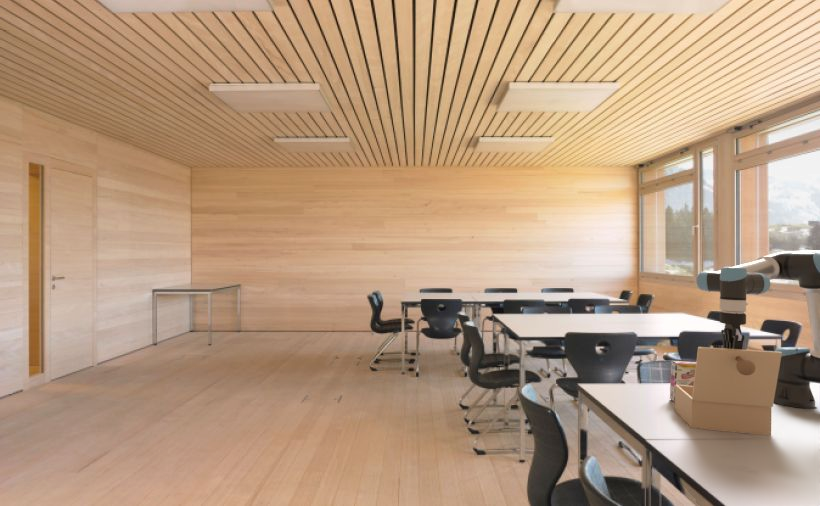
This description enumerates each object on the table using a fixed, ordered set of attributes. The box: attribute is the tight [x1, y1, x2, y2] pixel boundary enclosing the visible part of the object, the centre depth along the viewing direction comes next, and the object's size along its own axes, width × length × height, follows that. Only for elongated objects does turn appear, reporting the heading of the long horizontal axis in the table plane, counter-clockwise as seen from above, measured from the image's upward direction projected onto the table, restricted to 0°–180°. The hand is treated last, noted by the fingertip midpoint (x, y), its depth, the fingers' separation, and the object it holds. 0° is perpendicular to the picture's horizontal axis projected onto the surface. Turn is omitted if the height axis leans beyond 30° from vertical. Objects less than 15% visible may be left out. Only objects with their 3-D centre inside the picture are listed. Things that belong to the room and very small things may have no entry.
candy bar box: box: [669, 360, 696, 403], centre depth 197 cm, size 11×5×16 cm, turn 84°
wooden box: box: [674, 385, 772, 436], centre depth 173 cm, size 24×20×10 cm
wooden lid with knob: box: [692, 346, 782, 408], centre depth 156 cm, size 24×20×9 cm
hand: (731, 381), depth 163 cm, fingers closed
